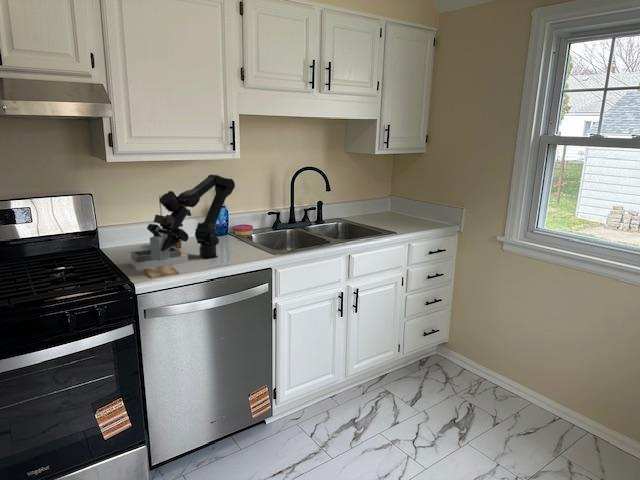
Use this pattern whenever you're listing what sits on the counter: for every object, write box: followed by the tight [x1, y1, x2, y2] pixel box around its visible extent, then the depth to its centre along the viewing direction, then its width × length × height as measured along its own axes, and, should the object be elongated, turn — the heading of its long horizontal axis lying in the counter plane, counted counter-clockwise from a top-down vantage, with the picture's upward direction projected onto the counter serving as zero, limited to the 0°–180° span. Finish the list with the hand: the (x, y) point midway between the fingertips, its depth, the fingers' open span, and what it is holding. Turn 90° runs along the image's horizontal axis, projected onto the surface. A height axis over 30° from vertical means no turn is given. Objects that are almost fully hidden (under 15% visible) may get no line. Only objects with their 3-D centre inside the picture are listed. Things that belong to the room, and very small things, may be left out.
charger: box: [149, 235, 170, 261], centre depth 188 cm, size 5×5×9 cm
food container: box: [160, 227, 182, 250], centre depth 226 cm, size 12×6×10 cm, turn 56°
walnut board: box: [142, 265, 180, 279], centre depth 190 cm, size 11×11×1 cm
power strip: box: [130, 246, 189, 271], centre depth 202 cm, size 22×9×6 cm, turn 126°
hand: (157, 249), depth 187 cm, fingers closed on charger, 5 cm apart
